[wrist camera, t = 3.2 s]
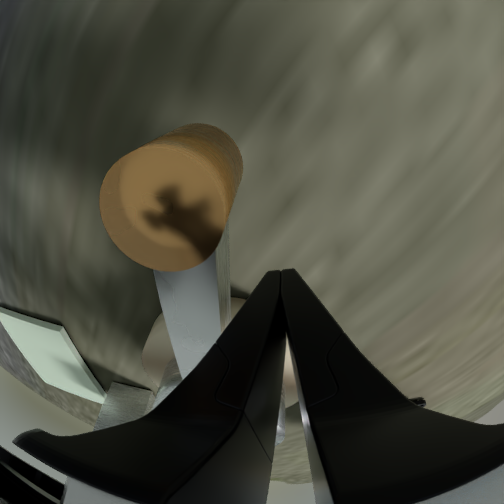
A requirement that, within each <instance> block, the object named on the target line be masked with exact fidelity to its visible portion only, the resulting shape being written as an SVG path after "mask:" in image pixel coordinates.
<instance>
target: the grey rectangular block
mask: <svg viewBox="0 0 504 504" xmlns="http://www.w3.org/2000/svg"><path fill="white" fill-rule="evenodd" d="M154 401H155V396H154V394H153V393H152V391H149V390H144V389H140V388H136V387H131V386H127V385H123V384H119V383H115V382H112V383H111V386H110V388H109V391H108V393H107V396H106V398H105V401H104V403H103V406H102V408H101V411H100V413H99V416H98V419H97V421H96V424H95V427H94V430H93V431H96V430H100V429H104V428H108V427H112V426H116V425H119V424H123V423H127V422H130V421H133V420H136V419H139V418H141V417H143V416H144V415H146V414H148V413H149V412H150V411H152V408H153V404H154Z"/></svg>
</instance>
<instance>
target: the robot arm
mask: <svg viewBox="0 0 504 504" xmlns="http://www.w3.org/2000/svg"><path fill="white" fill-rule="evenodd" d="M287 339H288V345H289V351H290V356H291V361H292V367H293V372H294V377H295V383H296V388H297V394H298V399H299V405H300V411H301V416H302V422H303V428H304V433H305V439H306V445H307V451H308V457H309V462H310V469H311V475H312V481H313V488H314V494H315V500H316V504H504V423H503V424H497V425H483V424H478V423H474V422H470V421H467V420H463V419H459V418H456V417H452V416H449V415H445V414H442V413H439V412H435V411H432V410H429V409H426V408H423V407H424V406H425V405H426V402H425V400H421V401H415V402H412V401H410V400H409V399H408V398H406V397H405V396H404V395H403V394H402V393H401V392H400V391H399V390H398V389H397V388H396V387H395V386H394V385H393V384H392V383H391V382H390V381H389V380H388V379H387V378H386V377H385V376H384V375H383V374H382V373H381V372H380V371H379V370H378V369H376V368H375V367H374V366H373V365H372V364H371V362H370V361H369V360H368V359H367V358H366V357H365V356H364V355H363V354H362V353H361V352H360V351H359V350H358V348H357V347H356V346H355V345H354V344H353V342H352V341H351V340H350V338H349V337H348V336H347V335H346V333H344V331H343V330H342V328H341V327H340V326H339V324H338V323H337V322H336V321H335V319H334V318H333V317H332V315H331V314H330V313H329V312H328V310H327V309H326V308H325V306H324V305H323V304H322V303H321V301H320V300H319V299H318V298H317V296H316V295H315V294H314V292H313V291H312V290H311V289H310V287H309V286H308V285H307V284H306V282H305V281H304V280H303V279H302V277H301V276H300V275H299V274H298V272H297V271H296V270H295V269H294V268H292V269H283V270H282V271H280V270H274V271H268V272H267V273H266V274H265V275H264V277H263V278H262V279H261V281H260V282H259V284H258V285H257V286H256V288H255V289H254V290H253V292H252V293H251V295H250V296H249V297H248V299H247V300H246V301H245V303H244V304H243V305H242V307H241V308H240V309H239V311H238V312H237V314H236V315H235V316H234V318H233V319H232V320H231V322H230V323H229V324H228V326H227V327H226V328H225V330H224V331H223V332H222V334H221V335H220V336H219V338H218V339H217V340H216V343H214V344H213V345H212V347H211V348H210V349H209V351H208V352H207V353H206V355H205V356H204V357H203V358H202V359H201V361H200V362H199V363H198V364H197V365H196V367H195V368H194V369H193V370H192V371H191V372H190V373H189V374H188V375H187V376H186V377H185V378H184V379H183V380H182V381H181V382H180V383H179V384H178V386H177V387H176V388H175V389H174V390H173V391H172V392H171V393H170V394H169V395H168V396H167V397H166V398H165V399H164V400H163V401H161V402H160V403H159V404H158V405H157V406H156V407H155V408H154V409H153V410H152V411H150V412H149V413H148V414H146V415H144V416H143V417H141V418H139V419H136V420H133V421H130V422H127V423H123V424H119V425H116V426H112V427H108V428H104V429H100V430H96V431H92V432H88V433H83V434H79V435H73V436H55V435H52V434H50V433H47V432H45V431H43V430H41V429H33V430H30V431H26V432H24V433H22V434H20V435H18V436H17V437H16V438H15V439H14V440H13V443H14V444H15V445H16V446H18V447H19V448H21V449H23V450H24V451H25V452H27V453H28V454H30V455H32V456H33V457H35V458H36V459H38V460H40V461H41V462H43V463H45V464H46V465H48V466H50V467H52V468H53V469H55V470H57V471H59V472H61V473H63V474H65V475H67V480H66V483H65V484H63V483H61V482H59V481H58V480H56V479H54V478H52V477H50V476H49V475H47V474H45V473H43V472H42V471H40V470H38V469H36V468H35V467H33V466H31V465H30V464H28V463H26V462H25V461H23V460H22V459H20V458H18V457H17V456H15V455H14V454H12V453H11V452H9V451H8V450H6V449H5V448H3V447H2V446H1V445H0V504H266V501H267V495H268V489H269V483H270V476H271V470H272V462H273V456H274V448H275V441H276V433H277V426H278V418H279V409H280V401H281V392H282V383H283V373H284V363H285V353H286V341H287Z"/></svg>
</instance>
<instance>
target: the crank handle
mask: <svg viewBox="0 0 504 504" xmlns="http://www.w3.org/2000/svg"><path fill="white" fill-rule="evenodd" d="M242 173H243V162H242V156H241V154H240V151H239V149H238V147H237V145H236V144H235V142H234V141H233V139H232V138H231V137H230V136H229V135H228V134H226V133H225V132H224V131H222V130H221V129H219V128H217V127H214V126H211V125H208V124H201V123H195V124H188V125H185V126H182V127H179V128H177V129H175V130H173V131H171V132H169V133H167V134H165V135H163V136H161V137H159V138H157V139H155V140H153V141H151V142H149V143H147V144H145V145H143V146H141V147H139V148H137V149H136V150H134V151H132V152H130V153H128V154H126V155H125V156H123V157H122V158H120V159H119V160H118V161H117V162H116V163H115V164H114V165H113V166H112V167H111V168H110V169H109V171H108V172H107V174H106V176H105V178H104V180H103V183H102V186H101V190H100V198H99V205H100V213H101V218H102V221H103V224H104V226H105V229H106V231H107V233H108V234H109V236H110V238H111V239H112V241H113V242H114V243H115V245H116V246H117V247H118V248H119V249H120V250H121V251H122V252H123V253H124V254H125V255H127V256H128V257H129V258H130V259H132V260H134V261H135V262H137V263H139V264H141V265H143V266H145V267H148V268H151V269H153V272H154V277H155V281H156V286H157V290H158V294H159V298H160V303H161V307H162V311H163V314H164V318H165V322H166V326H167V329H168V333H169V337H170V340H171V344H172V347H173V351H174V354H175V357H176V358H174V359H172V360H171V361H170V362H169V363H168V364H167V365H166V367H165V369H164V372H163V375H162V379H161V382H160V385H159V388H158V391H157V395H156V398H155V401H154V404H153V408H152V410H153V409H154V408H155V407H156V406H157V405H158V404H159V403H160V402H161V401H163V400H164V399H165V398H166V397H167V396H168V395H169V394H170V393H171V392H172V391H173V390H174V389H175V388H176V387H177V386H178V384H179V383H180V382H181V381H182V380H183V379H184V378H185V377H186V376H187V375H188V374H189V373H190V372H191V371H192V370H193V369H194V368H195V367H196V365H197V364H198V363H199V362H200V361H201V359H202V358H203V357H204V356H205V355H206V353H207V352H208V351H209V349H210V348H211V347H212V345H213V344H214V343H216V340H217V339H218V338H219V336H220V335H221V334H222V332H223V331H224V330H225V328H226V327H227V326H228V324H229V323H230V322H231V295H230V264H229V224H228V216H229V213H230V210H231V208H232V205H233V202H234V199H235V196H236V193H237V190H238V187H239V184H240V181H241V178H242ZM284 437H285V384H284V381H283V383H282V392H281V401H280V409H279V418H278V426H277V433H276V441H275V446H276V445H278V444H280V443H281V442H282V441H283V440H284Z"/></svg>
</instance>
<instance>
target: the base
mask: <svg viewBox="0 0 504 504" xmlns="http://www.w3.org/2000/svg"><path fill="white" fill-rule="evenodd" d="M245 301H246V300H245V299H240V298H234V297H231V320H232V319H233V318H234V316H235V315H236V314H237V312H238V311H239V309H240V308H241V307H242V305H243V304H244V303H245ZM174 358H176V357H175V354H174V351H173V347H172V344H171V340H170V337H169V333H168V329H167V326H166V322H165V318H164V314H163V312H162V313H161V314H160V315H159V316H158V317H157V319H156V320H155V322H154V324H153V327H152V329H151V332H150V334H149V336H148V339H147V341H146V344H145V346H144V349H143V351H142V364H143V367H144V370H145V372H146V373H147V375H148V377H149V378H150V379H151V380H152V382H153V383H154V384H155V385H156V386H157V387H159V385H160V382H161V379H162V375H163V372H164V369H165V367H166V365H167V364H168V363H169V362H170V361H171V360H172V359H174ZM283 381H284V384H285V408H287V407H289V406H291V405H293V404H295V403H296V402H298V401H299V399H298V394H297V388H296V383H295V377H294V372H293V367H292V361H291V356H290V351H289V345H288V339H287V341H286V353H285V363H284V373H283Z"/></svg>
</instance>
